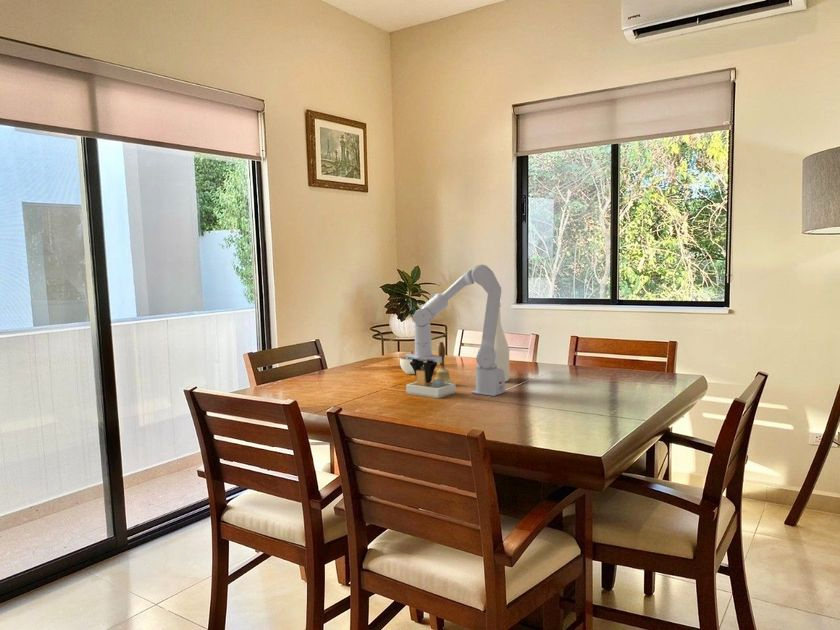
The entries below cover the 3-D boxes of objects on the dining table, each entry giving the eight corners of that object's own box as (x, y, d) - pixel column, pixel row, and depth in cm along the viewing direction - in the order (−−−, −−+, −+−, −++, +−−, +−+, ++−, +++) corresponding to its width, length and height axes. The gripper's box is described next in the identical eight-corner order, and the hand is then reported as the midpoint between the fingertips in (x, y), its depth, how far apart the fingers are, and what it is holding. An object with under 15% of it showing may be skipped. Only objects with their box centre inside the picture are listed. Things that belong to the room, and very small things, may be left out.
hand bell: (427, 386, 225) (426, 343, 223) (437, 382, 232) (436, 340, 231) (448, 387, 221) (447, 344, 219) (457, 383, 228) (456, 341, 227)
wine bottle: (509, 377, 236) (507, 300, 233) (510, 382, 226) (508, 302, 224) (484, 378, 237) (482, 300, 234) (484, 382, 227) (482, 302, 225)
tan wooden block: (430, 386, 214) (430, 366, 213) (424, 388, 211) (424, 368, 211) (422, 385, 216) (422, 365, 216) (416, 387, 213) (416, 367, 213)
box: (455, 392, 212) (455, 378, 212) (438, 398, 204) (438, 383, 204) (423, 388, 221) (423, 374, 220) (406, 393, 213) (405, 379, 212)
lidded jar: (395, 372, 255) (394, 350, 254) (418, 369, 259) (418, 347, 258) (406, 376, 245) (405, 353, 244) (430, 373, 249) (429, 350, 249)
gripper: (399, 343, 214) (400, 381, 215) (432, 345, 205) (433, 385, 206) (412, 340, 219) (413, 377, 221) (445, 343, 210) (446, 381, 212)
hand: (424, 381), depth 214 cm, fingers closed on tan wooden block, 3 cm apart
